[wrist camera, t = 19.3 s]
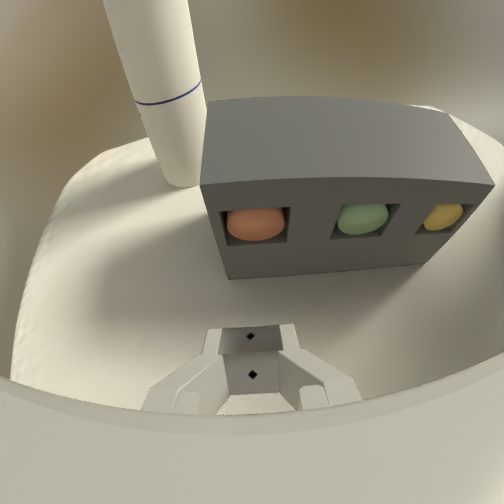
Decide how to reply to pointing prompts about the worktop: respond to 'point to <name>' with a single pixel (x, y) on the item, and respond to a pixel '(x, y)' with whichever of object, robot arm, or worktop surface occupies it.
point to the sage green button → (361, 218)
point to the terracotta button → (255, 223)
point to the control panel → (334, 180)
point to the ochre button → (443, 216)
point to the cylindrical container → (163, 81)
